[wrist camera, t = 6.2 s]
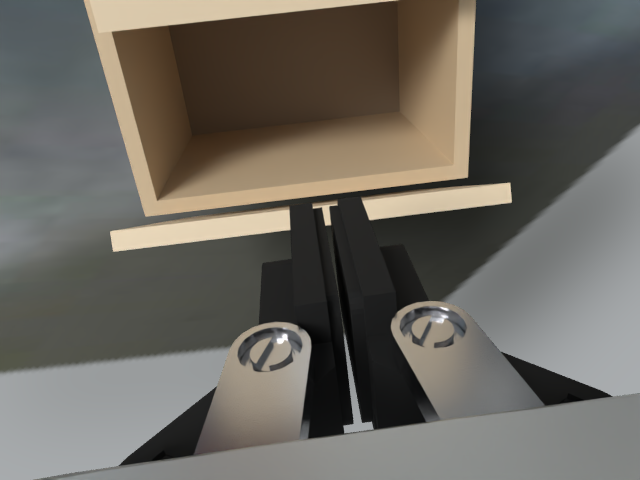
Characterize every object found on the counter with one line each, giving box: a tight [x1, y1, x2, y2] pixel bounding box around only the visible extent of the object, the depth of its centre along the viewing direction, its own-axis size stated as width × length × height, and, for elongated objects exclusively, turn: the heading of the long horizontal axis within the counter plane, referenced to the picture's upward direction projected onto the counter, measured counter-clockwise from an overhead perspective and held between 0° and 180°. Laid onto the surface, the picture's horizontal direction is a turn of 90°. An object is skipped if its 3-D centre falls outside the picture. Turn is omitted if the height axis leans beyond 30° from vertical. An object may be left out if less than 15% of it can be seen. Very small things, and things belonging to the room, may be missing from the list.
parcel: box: [84, 0, 476, 216], centre depth 22 cm, size 13×12×10 cm
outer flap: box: [110, 183, 512, 252], centre depth 21 cm, size 12×12×1 cm
